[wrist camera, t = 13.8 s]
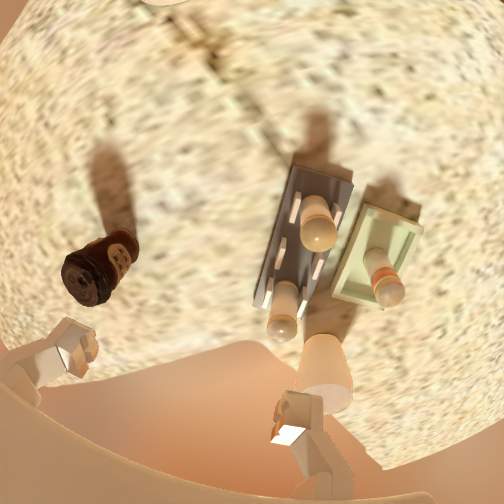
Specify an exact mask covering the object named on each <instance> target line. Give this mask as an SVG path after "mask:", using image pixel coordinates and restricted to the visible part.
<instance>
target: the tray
mask: <svg viewBox="0 0 504 504" xmlns="http://www.w3.org/2000/svg"><path fill="white" fill-rule="evenodd" d="M423 231H424V228H423V227H422V226H421V225H420V224H419V223H418V222H415V221H413V220H410V219H407V218H405V217H402V216H400V215H397V214H394V213H392V212H389V211H386V210H384V209H381V208H378V207H375V206H373V205H370V204H367V203H364V204H363V207H362V209H361V212H360V215H359V217H358V220H357V223H356V225H355V228H354V231H353V233H352V236H351V238H350V241H349V243H348V246H347V248H346V251H345V253H344V255H343V258H342V260H341V263H340V265H339V267H338V270H337V272H336V274H335V277H334V279H333V281H332V283H331V286H330V294H331V297H332V298H335V299H339V300H343V301H347V302H351V303H355V304H359V305H363V306H367V307H371V308H375V309H379V310H383V311H384V309H385V308H384V307H381V306H380V305H379V304H378V303H377V300H376V298H375V295H374V292H373V289H372V286H371V282H370V279H369V277H368V274H367V271H366V269H365V267H364V264H363V257H364V254H365V253H366V252H367V251H368V250H369V249H371V248H375V247H377V248H381V249H383V250H384V251H385V252H386V254H387V256H388V258H389V260H390V262H391V264H392V266H393V268H394V270H395V271H396V272H397V274H398V276H399V278H400V280H401V278H402V276H403V274H404V272H405V270H406V268H407V266H408V264H409V262H410V260H411V258H412V255H413V253H414V251H415V249H416V247H417V245H418V243H419V240H420V238H421V236H422V234H423Z"/></svg>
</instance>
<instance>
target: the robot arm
mask: <svg viewBox="0 0 504 504" xmlns="http://www.w3.org/2000/svg"><path fill="white" fill-rule="evenodd" d="M141 1H143V2H145V3H147V4H150V5H157V6H163V5H171V4H176V3H180V2H183V1H185V0H141ZM95 336H96V333H95V330H93V329H91V328H89V327H87V326H85V325H83V324H81V323H79V322H77V321H75V320H73V319H71V318H69V317H65V318H63V319H62V320H61V321H60V323H59V324H58V325H57V326H56V327H55V328H54V329H53V331H52V332H51V333H50V334H49V335H48V337H47V338H46V339H43V338H42V339H40V340H37V341H34V342H31V343H29V344H26V345H23V346H21V347H18V348H15V349H12V350H10V351H7V352H4V354H3V355H2V356H1V357H0V504H438V503H437V502H436V500H435V499H434V498H433V497H432V496H431V495H430V494H428V493H427V492H417V493H411V494H405V495H399V496H392V497H383V498H373V499H360V500H354V471H353V470H352V469H351V467H350V466H349V464H348V463H347V461H346V460H345V458H344V457H343V456H342V454H341V453H340V451H339V449H338V448H337V447H336V445H335V443H334V442H333V441H332V439H331V438H330V436H329V434H328V433H327V432H326V431H323V398H322V396H317V395H310V394H306V393H300V392H293V391H287V390H286V391H284V393H283V395H282V399H280V400H279V401H278V403H277V405H276V408H275V412H274V417H273V420H274V422H275V423H276V424H275V425H274V427H273V428H272V433H271V441H270V442H272V443H277V444H283V445H289V446H290V448H291V450H292V452H293V454H294V456H295V458H296V460H297V463H298V465H299V467H300V469H301V471H302V473H303V474H304V477H305V479H306V480H305V481H303V482H302V483H300V484H298V485H297V486H295V487H294V488H293V497H292V499H285V498H275V497H265V496H259V495H251V494H245V493H240V492H234V491H229V490H224V489H219V488H215V487H211V486H207V485H203V484H199V483H195V482H192V481H188V480H185V479H181V478H178V477H175V476H172V475H169V474H165V473H163V472H160V471H157V470H154V469H151V468H149V467H146V466H143V465H141V464H138V463H136V462H133V461H131V460H129V459H126V458H124V457H122V456H119V455H117V454H115V453H113V452H111V451H109V450H107V449H104V448H102V447H100V446H98V445H96V444H94V443H92V442H90V441H88V440H87V439H85V438H83V437H81V436H79V435H77V434H76V433H74V432H72V431H71V430H69V429H67V428H66V427H64V426H62V425H61V424H59V423H57V422H56V421H54V420H53V419H51V418H50V417H48V416H47V415H45V414H44V413H42V412H40V411H39V410H38V409H37V407H38V406H39V404H40V402H41V401H42V397H41V395H40V394H39V392H38V391H37V389H38V388H40V387H41V386H43V385H45V384H47V383H49V382H50V381H52V380H54V379H56V378H58V377H60V376H61V375H63V374H65V373H67V372H69V373H71V374H73V375H75V376H77V377H79V378H81V379H82V378H83V376H84V375H85V373H86V372H87V370H88V369H89V366H88V363H90V362H93V361H94V359H95V358H96V356H97V353H98V349H99V345H98V342H97V340H96V339H95Z"/></svg>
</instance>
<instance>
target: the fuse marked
mask: <svg viewBox="0 0 504 504" xmlns="http://www.w3.org/2000/svg"><path fill="white" fill-rule="evenodd" d="M363 264H364V267H365V269H366V271H367V274H368V277H369V279H370V282H371V286H372V289H373V292H374V295H375V298H376V300H377V303H378V304H379V305H380V306H381V307H384V308H391V307H394V306H396V305H398V304H399V303H400V302H401V301H402V300H403V298H404V296H405V288H404V286H403V284H402V282H401V280H400V278H399V276H398V274H397V272H396V271H395V270H394V268H393V266H392V264H391V262H390V260H389V258H388V256H387V254H386V252H385V251H384V250H383V249H381V248H377V247H375V248H371V249H369V250H368V251H367V252H366V253H365V254H364V257H363Z"/></svg>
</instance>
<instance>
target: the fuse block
mask: <svg viewBox="0 0 504 504" xmlns="http://www.w3.org/2000/svg"><path fill="white" fill-rule="evenodd" d="M353 187H354V185H353V183H351V182H348V181H345V180H342V179H339V178H336V177H333V176H330V175H327V174H324V173H321V172H317V171H314V170H311V169H308V168H304V167H301V166H297V165H294V164H293V168H292V171H291V175H290V178H289V182H288V185H287V189H286V192H285V196H284V199H283V203H282V206H281V210H280V213H279V217H278V220H277V224H276V227H275V231H274V234H273V237H272V241H271V244H270V248H269V251H268V254H267V258H266V261H265V265H264V268H263V271H262V275H261V278H260V281H259V285H258V288H257V291H256V295H255V298H254V301H253V305H252V307H255V308H259V309H263V310H266V311H270V308H271V301H272V293H273V287H274V285H275V284H276V283H277V282H278V281H281V280H290V281H292V282H294V283H295V284H296V285H297V287H298V306H297V319H301V320H302V317H303V315H304V313H305V310H306V308H307V306H308V304H309V301H310V299H311V297H312V294H313V292H314V290H315V287H316V285H317V282H318V280H319V278H320V275H321V273H322V270H323V268H324V265H325V263H326V260H327V258H328V255H329V253H330V250H331V248H332V247H331V248H330V249H329V250H327V251H324V252H313V251H310V250H309V249H307V248H306V247H305V246H304V245H303V243H302V241H301V237H300V229H301V223H300V203H301V201H302V200H303V199H304V198H305V197H306V196H308V195H312V194H316V195H320V196H322V197H323V198H324V199H325V200H326V202H327V204H328V207H329V211H330V213H331V216H332V219H333V222H334V224H335V226H336V229H337V232H338V229H339V227H340V224H341V221H342V218H343V216H344V213H345V210H346V207H347V204H348V202H349V199H350V196H351V193H352V190H353Z"/></svg>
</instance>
